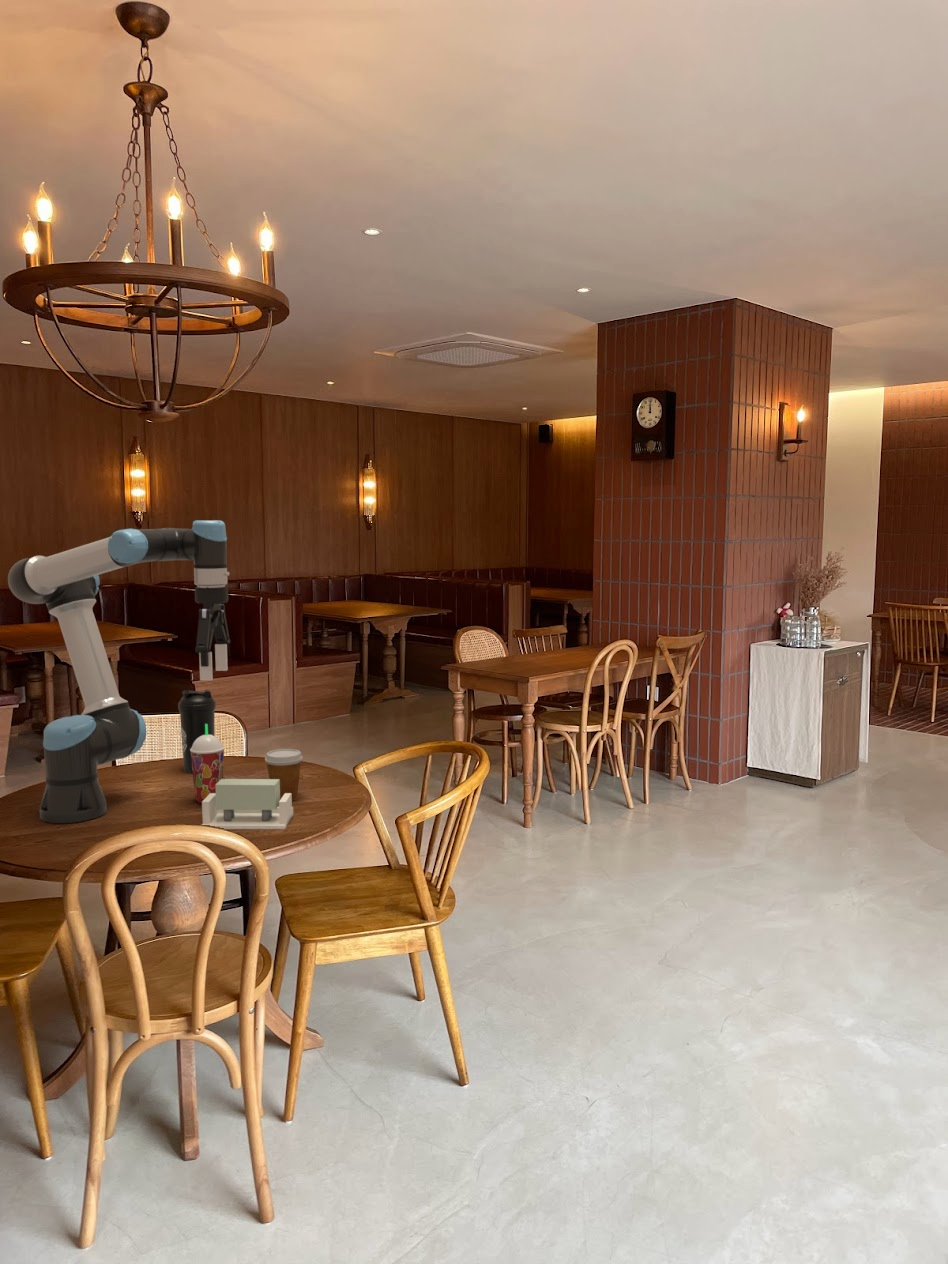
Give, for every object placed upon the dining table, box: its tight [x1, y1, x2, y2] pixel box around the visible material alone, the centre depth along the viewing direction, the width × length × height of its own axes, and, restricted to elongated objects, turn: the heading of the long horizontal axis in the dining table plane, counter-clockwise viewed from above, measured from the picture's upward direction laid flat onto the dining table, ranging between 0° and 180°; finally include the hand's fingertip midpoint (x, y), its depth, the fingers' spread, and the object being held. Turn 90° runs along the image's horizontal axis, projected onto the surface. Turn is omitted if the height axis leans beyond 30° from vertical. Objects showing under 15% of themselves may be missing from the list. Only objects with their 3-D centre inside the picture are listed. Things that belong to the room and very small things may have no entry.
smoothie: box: [190, 724, 225, 804], centre depth 243 cm, size 8×8×20 cm
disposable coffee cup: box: [264, 748, 303, 801], centre depth 245 cm, size 10×10×12 cm
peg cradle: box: [201, 793, 294, 830], centre depth 227 cm, size 20×11×6 cm, turn 90°
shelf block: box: [215, 778, 280, 810], centre depth 226 cm, size 14×5×6 cm, turn 89°
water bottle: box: [177, 689, 216, 775], centre depth 272 cm, size 10×10×23 cm
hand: (214, 675), depth 227 cm, fingers open, 13 cm apart
